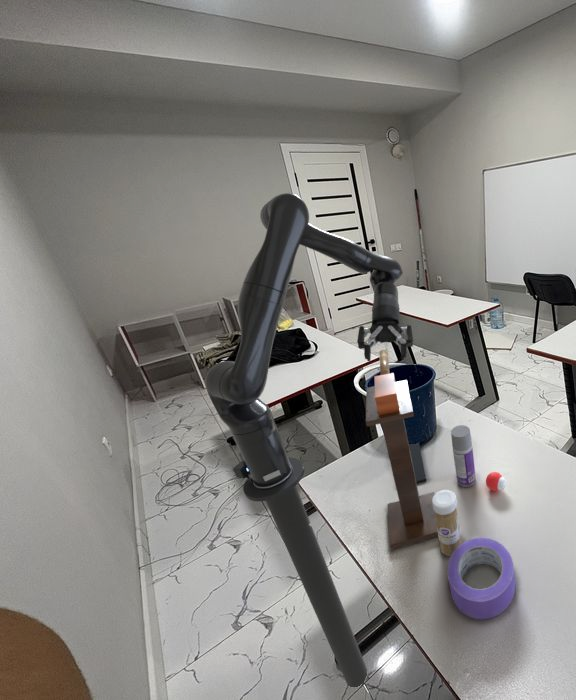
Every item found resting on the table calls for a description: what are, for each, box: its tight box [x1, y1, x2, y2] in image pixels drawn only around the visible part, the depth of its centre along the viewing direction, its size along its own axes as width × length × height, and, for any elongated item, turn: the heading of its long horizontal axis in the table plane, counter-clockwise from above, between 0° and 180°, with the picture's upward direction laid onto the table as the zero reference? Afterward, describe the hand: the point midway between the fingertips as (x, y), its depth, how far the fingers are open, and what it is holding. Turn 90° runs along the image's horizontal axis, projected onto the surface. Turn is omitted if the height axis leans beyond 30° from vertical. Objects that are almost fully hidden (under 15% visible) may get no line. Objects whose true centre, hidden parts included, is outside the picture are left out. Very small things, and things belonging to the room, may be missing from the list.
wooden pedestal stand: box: [365, 379, 439, 551], centre depth 72 cm, size 12×11×32 cm
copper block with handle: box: [373, 349, 400, 415], centre depth 71 cm, size 23×4×4 cm, turn 14°
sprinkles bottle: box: [432, 489, 463, 557], centre depth 70 cm, size 5×5×13 cm
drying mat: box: [409, 442, 427, 484], centre depth 96 cm, size 16×7×1 cm, turn 14°
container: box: [450, 424, 477, 488], centre depth 85 cm, size 5×5×15 cm
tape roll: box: [447, 536, 516, 620], centre depth 64 cm, size 12×12×5 cm
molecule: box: [485, 471, 507, 492], centre depth 84 cm, size 5×5×4 cm
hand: (385, 358), depth 91 cm, fingers open, 8 cm apart
